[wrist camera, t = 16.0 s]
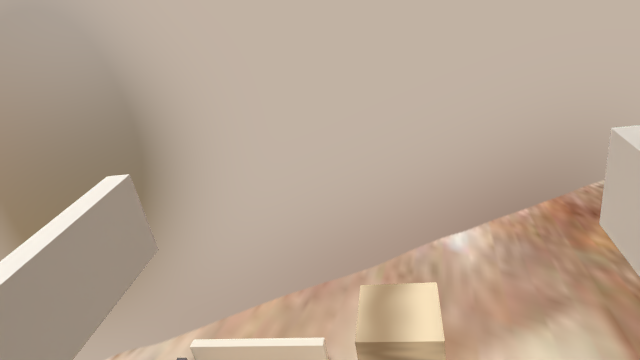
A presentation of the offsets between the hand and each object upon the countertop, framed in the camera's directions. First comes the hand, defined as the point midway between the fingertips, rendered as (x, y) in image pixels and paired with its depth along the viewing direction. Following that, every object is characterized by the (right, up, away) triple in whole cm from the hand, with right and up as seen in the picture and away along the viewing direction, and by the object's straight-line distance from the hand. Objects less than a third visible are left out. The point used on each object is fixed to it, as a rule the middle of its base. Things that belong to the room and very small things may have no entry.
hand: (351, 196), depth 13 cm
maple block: (+7, -20, +26) cm, 33 cm away
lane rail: (-7, -19, +34) cm, 39 cm away
